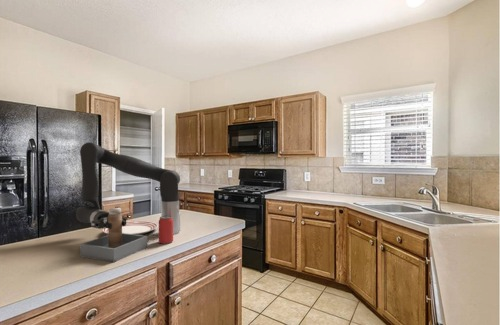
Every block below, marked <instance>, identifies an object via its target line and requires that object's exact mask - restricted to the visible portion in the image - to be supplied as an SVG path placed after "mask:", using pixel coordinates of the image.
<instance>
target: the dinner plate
mask: <svg viewBox="0 0 500 325" xmlns="http://www.w3.org/2000/svg"><path fill="white" fill-rule="evenodd" d="M157 228H159V223H158V224H157V223H156V222H153V221H147V220H131V221H129V220H128V221H126V226H122V233H126V234H134V235H142V236H143V235H145V234H147V233H150V232H152V231H154V230H156V229H157ZM101 229H102V228H101ZM101 231H102V232H103V233H104V234H106V235H108V228H106V229H102V230H101Z"/></svg>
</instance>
